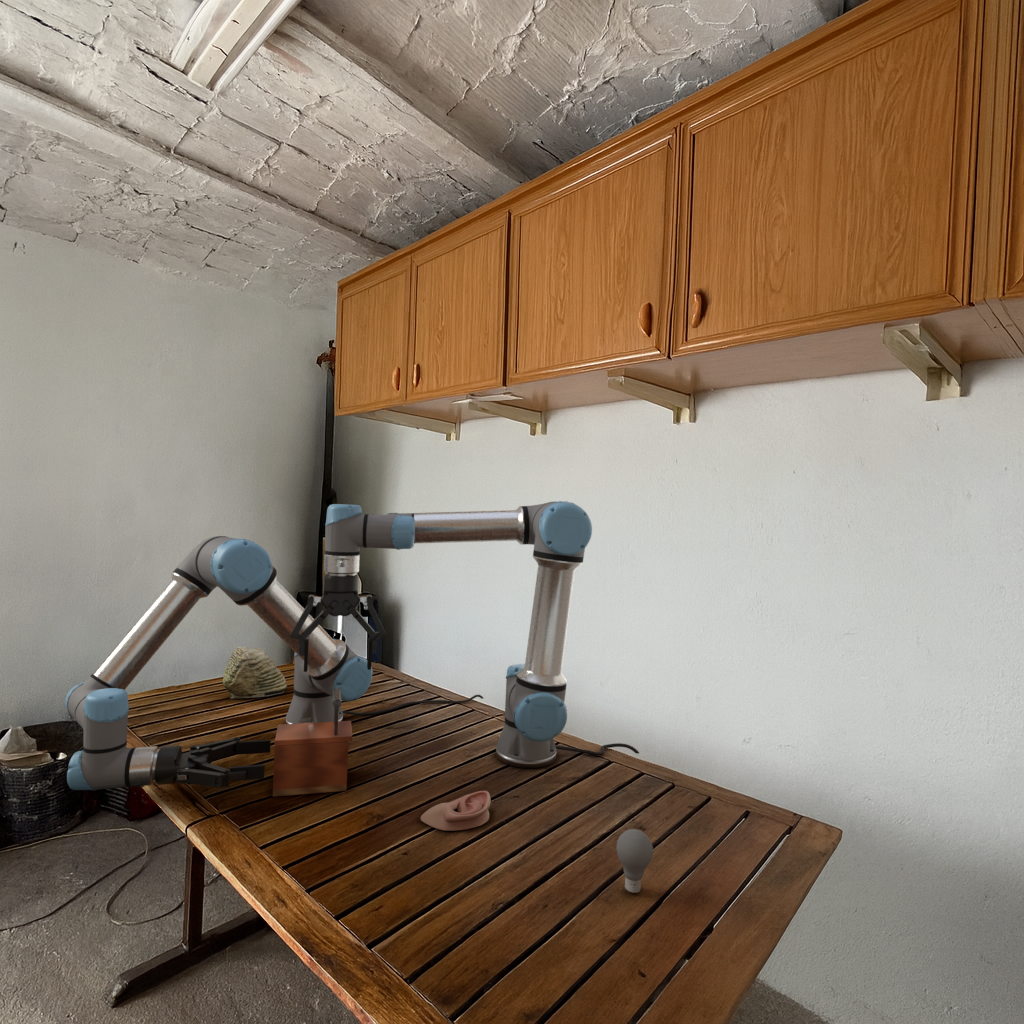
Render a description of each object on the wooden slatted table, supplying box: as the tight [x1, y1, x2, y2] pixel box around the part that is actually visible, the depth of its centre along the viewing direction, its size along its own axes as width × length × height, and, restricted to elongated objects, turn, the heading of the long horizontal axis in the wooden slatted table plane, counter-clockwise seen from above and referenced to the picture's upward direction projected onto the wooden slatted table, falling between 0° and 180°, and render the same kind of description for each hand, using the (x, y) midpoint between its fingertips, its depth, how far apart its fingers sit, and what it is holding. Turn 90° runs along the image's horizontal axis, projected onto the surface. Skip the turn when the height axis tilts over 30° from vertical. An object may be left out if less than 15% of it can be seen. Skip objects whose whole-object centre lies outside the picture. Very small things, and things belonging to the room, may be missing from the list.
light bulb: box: [615, 828, 654, 894], centre depth 106 cm, size 6×6×10 cm
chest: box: [272, 741, 349, 798], centre depth 140 cm, size 15×10×11 cm, turn 106°
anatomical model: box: [419, 790, 492, 832], centre depth 127 cm, size 13×4×12 cm
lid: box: [274, 689, 353, 747], centre depth 139 cm, size 16×10×9 cm, turn 106°
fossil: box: [222, 646, 288, 699], centre depth 198 cm, size 9×18×15 cm, turn 132°
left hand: (267, 758), depth 137 cm, fingers open, 13 cm apart
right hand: (337, 669), depth 141 cm, fingers open, 13 cm apart
